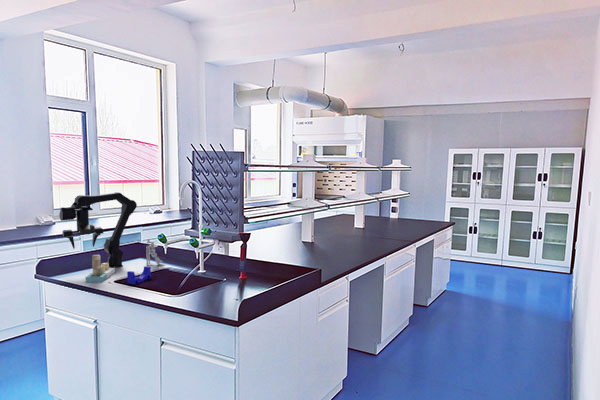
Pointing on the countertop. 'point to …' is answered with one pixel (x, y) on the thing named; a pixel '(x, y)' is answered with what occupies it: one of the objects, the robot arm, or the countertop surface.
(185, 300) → the countertop surface
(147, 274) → the blue saddle block
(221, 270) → the countertop surface
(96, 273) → the birch pin
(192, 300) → the countertop surface
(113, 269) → the pin board
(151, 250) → the clamp
